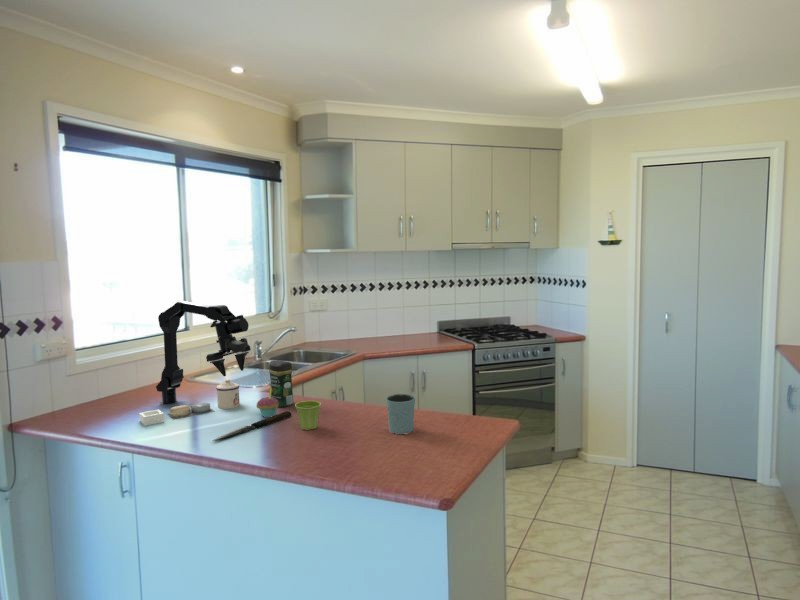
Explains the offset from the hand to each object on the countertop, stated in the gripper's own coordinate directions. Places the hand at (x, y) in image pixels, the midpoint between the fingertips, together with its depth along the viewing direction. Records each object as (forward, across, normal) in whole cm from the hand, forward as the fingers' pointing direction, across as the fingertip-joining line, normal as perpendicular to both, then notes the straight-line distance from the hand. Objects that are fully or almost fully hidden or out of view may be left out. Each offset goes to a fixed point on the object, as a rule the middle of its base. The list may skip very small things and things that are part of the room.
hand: (233, 373), depth 227 cm
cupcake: (+18, -1, -15) cm, 24 cm away
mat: (+12, -14, +13) cm, 23 cm away
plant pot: (+23, -6, -39) cm, 46 cm away
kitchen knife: (+20, -16, -21) cm, 33 cm away
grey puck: (+12, -11, +11) cm, 19 cm away
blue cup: (+30, +6, -70) cm, 77 cm away
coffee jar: (+18, +13, -9) cm, 24 cm away
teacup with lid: (+14, +1, +8) cm, 16 cm away
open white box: (+10, -29, +16) cm, 35 cm away
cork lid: (+10, -18, +14) cm, 25 cm away
